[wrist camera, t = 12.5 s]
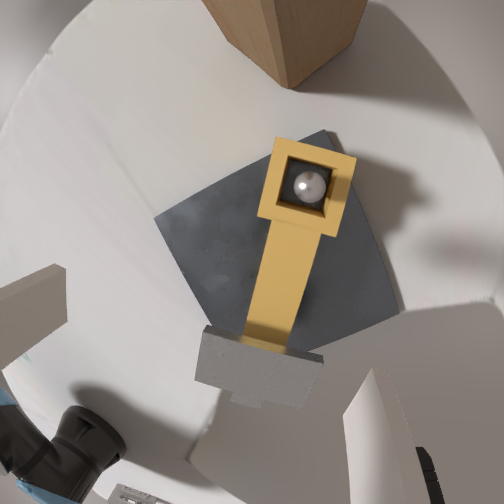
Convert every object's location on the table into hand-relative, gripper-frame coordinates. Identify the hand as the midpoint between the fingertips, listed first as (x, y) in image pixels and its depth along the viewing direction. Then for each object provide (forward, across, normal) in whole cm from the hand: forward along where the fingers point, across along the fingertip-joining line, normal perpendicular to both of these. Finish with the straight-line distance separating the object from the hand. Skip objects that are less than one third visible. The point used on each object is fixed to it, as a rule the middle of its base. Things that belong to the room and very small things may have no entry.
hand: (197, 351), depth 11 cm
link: (+20, +3, +1) cm, 20 cm away
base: (+21, +3, -2) cm, 21 cm away
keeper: (+21, +3, -10) cm, 24 cm away
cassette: (+22, -14, -73) cm, 78 cm away
